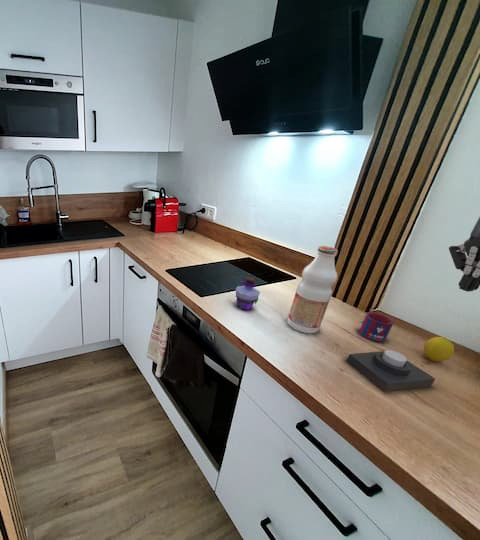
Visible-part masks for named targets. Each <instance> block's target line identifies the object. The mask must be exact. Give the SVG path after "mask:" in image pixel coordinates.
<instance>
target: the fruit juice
mask: <svg viewBox="0 0 480 540" xmlns="http://www.w3.org/2000/svg"><path fill="white" fill-rule="evenodd" d="M338 252H339V251H338V248H335V247H332V246H326V245H322V246H321V245H320V246H318V248H317V254H316V255H315V257H314V259H313V260H312V261H311V262H310V263H309V264H308V265H306V266H304V268H303V270H302V273H301V281H299V283H298V285H297V287H296V289H295V293H294V297H293V300H292V303H291V307H290V310H289V313H288V316H287V320H286V321H287V324H288V326H289V327H290V328H292V329H294V330H295V331H298V332H301V333H304V334H316V333H317V332H318V331H319V330H320V328H321V325H322V323H323V320H324V317H325V314H326V311H327V310H328V306H329V303H330V301H331V298H332V295H333V286H334V285H335V284H336V283H337V280H338V273H337V270H336V265H335V263H336V262H335V257H336V256H337V255H338Z"/></svg>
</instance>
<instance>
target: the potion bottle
mask: <svg viewBox="0 0 480 540" xmlns="http://www.w3.org/2000/svg"><path fill="white" fill-rule="evenodd" d="M256 285H257V281H256V279H255V278H254V277H253V276H252V277H251V276H246V277H245V279H243V283H242V285H237V287H236V288H235V298H236V307H237V308H238V309H239V310H242V311H245V312H247V311H251V310H252V309H253V306H254V305H256V304H258V301H259V296H260V294H261V291H260V290H258V289H256Z"/></svg>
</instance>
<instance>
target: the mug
mask: <svg viewBox="0 0 480 540" xmlns="http://www.w3.org/2000/svg"><path fill="white" fill-rule="evenodd" d="M394 323H395V322H394V320H393V319H392V318H390V317H389V316H386V315H385V314H381V313H377V312H375V311H372V310H369V311H368V312H367V313H366V315H365V316H364V319H363V320H362V324H361V326H360V328H359V329H358V332H359V335H360V336H362V337H363V338H365V339H367V340H370V341H373V342H377V343H383V342H385V341H386V340H387V338H388V335H389V333H390V332H391V330H392V327H393V325H394Z"/></svg>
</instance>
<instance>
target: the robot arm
mask: <svg viewBox="0 0 480 540" xmlns="http://www.w3.org/2000/svg"><path fill="white" fill-rule="evenodd" d="M448 251H449V254H450V256H451V259H452V262H453V264H454V268H455V269H456V270H459V271H461V272H462V273H463V275H462V276H461V278H460V280H459V282H458V288H459V289H460V290H462V291H464V292H473V291H477V290H478V289H479V287H480V216H479V217H478V219H477V220H476V223H475V224H474V226H473V228H472V230H471V232H470V236H469V237H468V239H466V240H465V241H464V242H463V243H462V244H459V245H450V246H449V247H448Z"/></svg>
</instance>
